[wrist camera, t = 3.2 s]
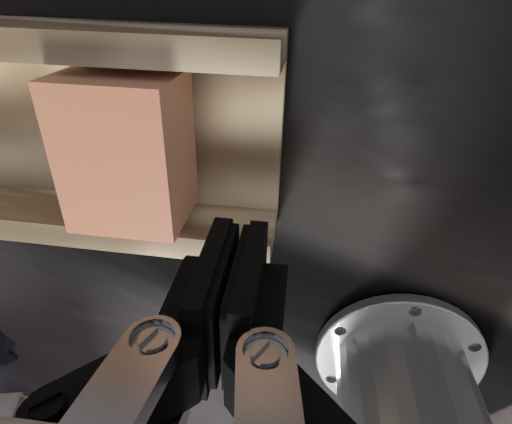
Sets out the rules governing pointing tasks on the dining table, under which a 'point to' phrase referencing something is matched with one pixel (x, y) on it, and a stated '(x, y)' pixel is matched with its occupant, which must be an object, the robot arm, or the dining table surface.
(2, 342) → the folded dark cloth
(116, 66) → the chute
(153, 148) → the block
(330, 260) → the dining table surface
